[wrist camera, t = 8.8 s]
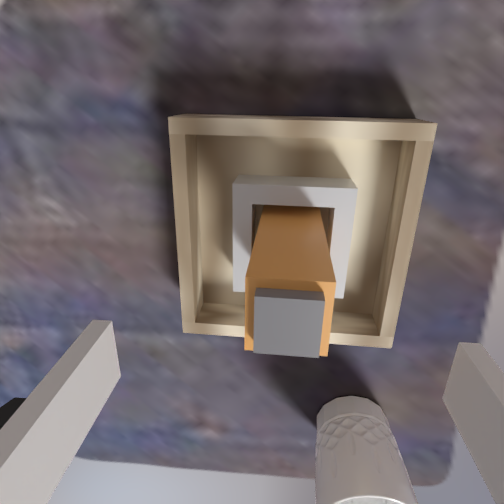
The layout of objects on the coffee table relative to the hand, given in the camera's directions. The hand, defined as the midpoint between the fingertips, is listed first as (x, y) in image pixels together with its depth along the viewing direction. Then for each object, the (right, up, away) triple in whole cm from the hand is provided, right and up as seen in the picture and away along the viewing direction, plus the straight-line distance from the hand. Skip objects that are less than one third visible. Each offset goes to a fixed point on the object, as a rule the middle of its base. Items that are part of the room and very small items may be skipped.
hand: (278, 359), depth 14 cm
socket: (+2, +6, +15) cm, 16 cm away
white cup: (+9, -12, +22) cm, 27 cm away
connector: (+2, +6, +14) cm, 15 cm away
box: (+2, +6, +15) cm, 16 cm away
